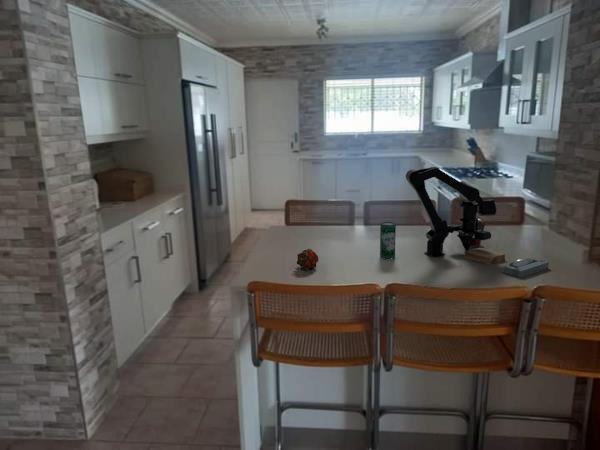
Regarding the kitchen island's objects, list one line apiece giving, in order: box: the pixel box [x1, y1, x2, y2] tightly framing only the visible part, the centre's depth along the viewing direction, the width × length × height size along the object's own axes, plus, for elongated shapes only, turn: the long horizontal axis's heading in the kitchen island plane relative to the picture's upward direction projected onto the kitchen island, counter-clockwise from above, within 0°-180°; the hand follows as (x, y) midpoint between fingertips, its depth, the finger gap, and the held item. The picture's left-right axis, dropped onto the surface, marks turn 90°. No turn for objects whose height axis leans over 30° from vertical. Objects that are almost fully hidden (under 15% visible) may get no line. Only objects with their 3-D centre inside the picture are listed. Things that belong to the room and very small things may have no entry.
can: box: [379, 221, 397, 260], centre depth 190 cm, size 6×6×15 cm
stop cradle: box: [502, 257, 550, 279], centre depth 171 cm, size 18×7×2 cm, turn 122°
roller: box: [509, 256, 533, 268], centre depth 173 cm, size 9×4×4 cm
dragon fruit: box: [296, 248, 319, 270], centre depth 181 cm, size 8×8×12 cm
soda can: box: [470, 218, 483, 248], centre depth 205 cm, size 7×7×12 cm
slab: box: [463, 246, 506, 265], centre depth 187 cm, size 10×12×3 cm
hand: (467, 251), depth 194 cm, fingers closed
